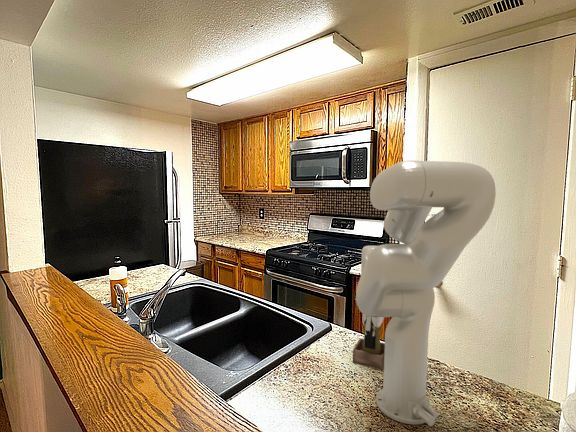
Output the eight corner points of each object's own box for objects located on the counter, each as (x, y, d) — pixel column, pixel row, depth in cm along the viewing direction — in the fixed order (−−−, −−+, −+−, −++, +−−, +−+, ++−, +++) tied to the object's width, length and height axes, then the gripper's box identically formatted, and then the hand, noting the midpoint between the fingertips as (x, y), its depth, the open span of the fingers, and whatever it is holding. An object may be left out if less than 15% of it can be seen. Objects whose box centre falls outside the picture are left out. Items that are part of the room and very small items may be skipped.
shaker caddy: (388, 356, 98) (388, 344, 98) (384, 370, 90) (384, 357, 90) (359, 350, 102) (359, 338, 102) (352, 362, 94) (353, 349, 93)
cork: (382, 361, 92) (383, 325, 92) (361, 359, 93) (362, 323, 93) (380, 351, 98) (381, 317, 98) (361, 349, 99) (361, 316, 99)
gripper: (381, 295, 86) (379, 359, 86) (390, 281, 101) (388, 337, 101) (354, 291, 89) (352, 353, 90) (367, 279, 104) (365, 332, 105)
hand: (371, 344), depth 95 cm, fingers closed on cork, 4 cm apart
